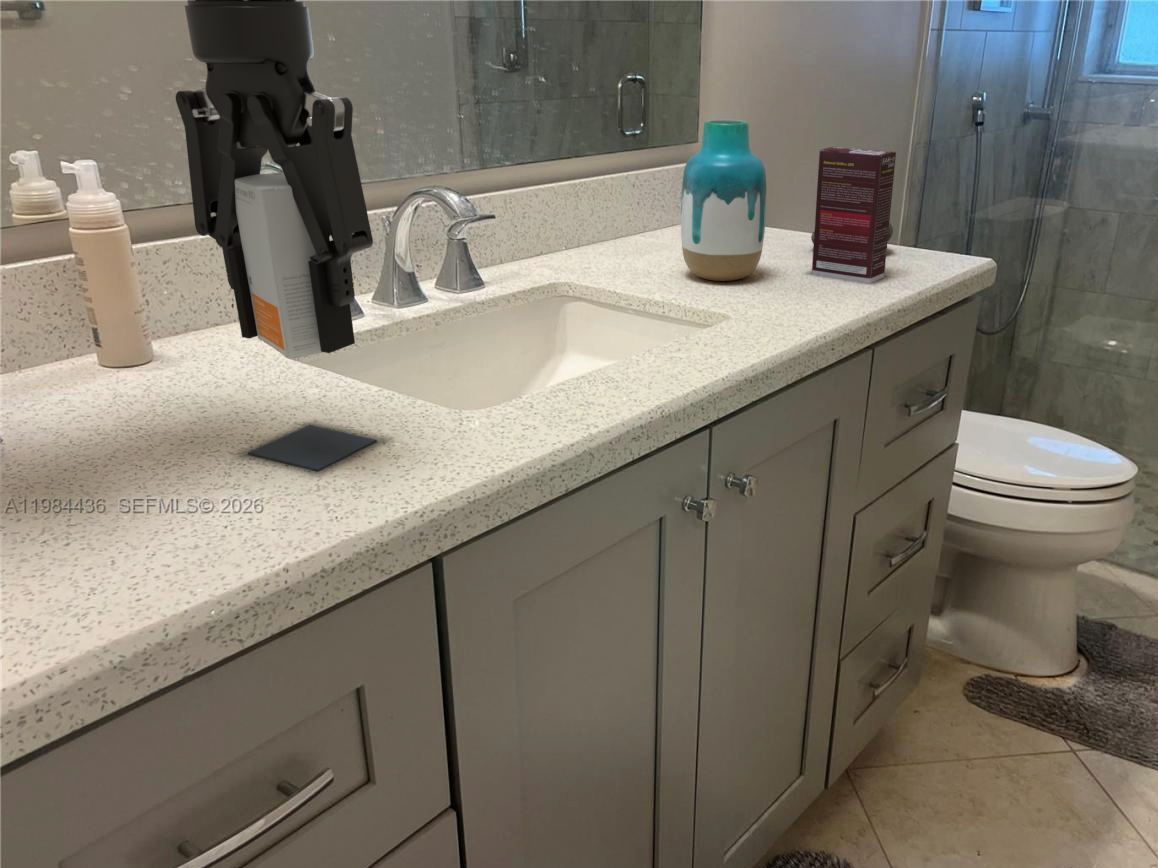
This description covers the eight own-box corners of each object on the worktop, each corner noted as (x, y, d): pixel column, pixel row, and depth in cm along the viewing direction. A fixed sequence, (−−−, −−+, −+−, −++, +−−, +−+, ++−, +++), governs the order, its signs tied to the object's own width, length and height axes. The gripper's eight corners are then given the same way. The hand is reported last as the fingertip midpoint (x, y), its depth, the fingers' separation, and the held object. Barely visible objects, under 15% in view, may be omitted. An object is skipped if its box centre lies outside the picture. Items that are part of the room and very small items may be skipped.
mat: (248, 458, 80) (247, 452, 79) (310, 430, 85) (309, 424, 85) (318, 475, 77) (317, 469, 77) (377, 445, 82) (377, 439, 82)
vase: (778, 283, 132) (788, 123, 123) (709, 293, 127) (714, 127, 118) (731, 266, 140) (737, 115, 131) (664, 275, 135) (665, 119, 126)
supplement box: (885, 279, 135) (898, 150, 128) (869, 286, 131) (882, 154, 124) (825, 269, 139) (835, 145, 132) (808, 276, 136) (818, 148, 129)
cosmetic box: (256, 341, 78) (227, 176, 73) (311, 331, 81) (287, 170, 75) (287, 360, 74) (259, 187, 69) (344, 349, 76) (321, 181, 71)
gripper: (406, -2, 66) (438, 345, 76) (183, -5, 74) (238, 311, 84) (322, -4, 60) (369, 374, 70) (89, -6, 68) (161, 335, 78)
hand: (298, 339), depth 77 cm, fingers closed on cosmetic box, 7 cm apart
